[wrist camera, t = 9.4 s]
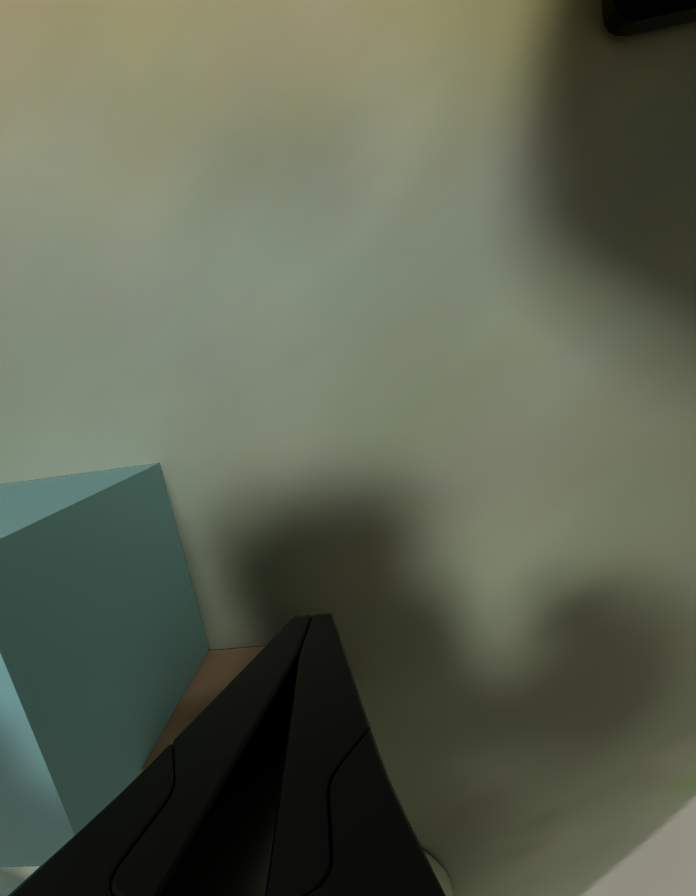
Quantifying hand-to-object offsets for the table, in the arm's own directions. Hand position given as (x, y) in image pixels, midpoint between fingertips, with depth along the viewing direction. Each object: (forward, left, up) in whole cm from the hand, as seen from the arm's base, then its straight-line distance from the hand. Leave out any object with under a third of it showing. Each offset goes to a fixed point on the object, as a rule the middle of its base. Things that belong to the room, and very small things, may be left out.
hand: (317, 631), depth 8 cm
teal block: (+9, 0, -4) cm, 10 cm away
